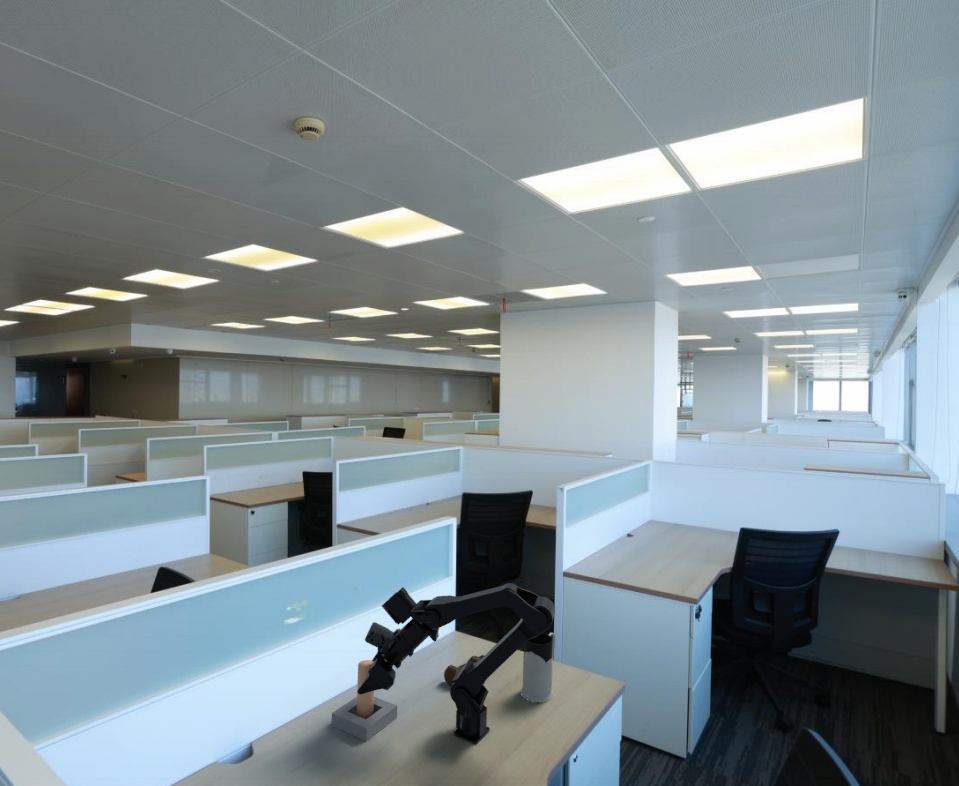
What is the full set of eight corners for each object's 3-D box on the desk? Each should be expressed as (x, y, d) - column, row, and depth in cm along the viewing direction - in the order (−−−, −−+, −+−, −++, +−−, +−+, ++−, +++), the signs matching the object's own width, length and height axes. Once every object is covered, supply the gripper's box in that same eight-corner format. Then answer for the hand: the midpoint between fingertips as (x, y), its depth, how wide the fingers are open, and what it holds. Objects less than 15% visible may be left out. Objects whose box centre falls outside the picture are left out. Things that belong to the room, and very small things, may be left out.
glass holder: (514, 695, 149) (516, 639, 149) (539, 673, 161) (540, 622, 161) (544, 706, 144) (545, 648, 144) (567, 683, 156) (568, 630, 156)
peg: (376, 720, 136) (378, 663, 136) (365, 728, 132) (367, 669, 132) (364, 715, 138) (365, 658, 138) (352, 723, 134) (354, 665, 134)
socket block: (396, 717, 137) (397, 705, 137) (366, 741, 128) (366, 728, 128) (362, 703, 143) (363, 692, 143) (331, 725, 133) (331, 713, 133)
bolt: (486, 673, 164) (452, 692, 152) (475, 660, 167) (440, 677, 155) (495, 659, 162) (461, 677, 150) (483, 646, 165) (449, 662, 153)
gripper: (391, 599, 144) (348, 641, 144) (379, 630, 126) (329, 678, 126) (421, 630, 145) (377, 672, 144) (413, 666, 126) (363, 714, 126)
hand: (362, 682), depth 135 cm, fingers open, 9 cm apart
